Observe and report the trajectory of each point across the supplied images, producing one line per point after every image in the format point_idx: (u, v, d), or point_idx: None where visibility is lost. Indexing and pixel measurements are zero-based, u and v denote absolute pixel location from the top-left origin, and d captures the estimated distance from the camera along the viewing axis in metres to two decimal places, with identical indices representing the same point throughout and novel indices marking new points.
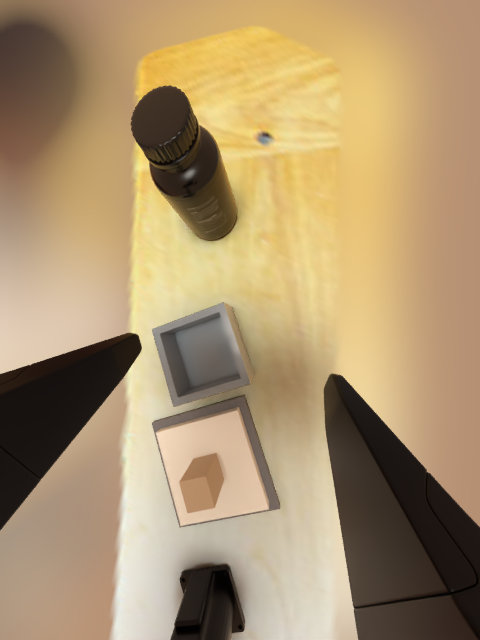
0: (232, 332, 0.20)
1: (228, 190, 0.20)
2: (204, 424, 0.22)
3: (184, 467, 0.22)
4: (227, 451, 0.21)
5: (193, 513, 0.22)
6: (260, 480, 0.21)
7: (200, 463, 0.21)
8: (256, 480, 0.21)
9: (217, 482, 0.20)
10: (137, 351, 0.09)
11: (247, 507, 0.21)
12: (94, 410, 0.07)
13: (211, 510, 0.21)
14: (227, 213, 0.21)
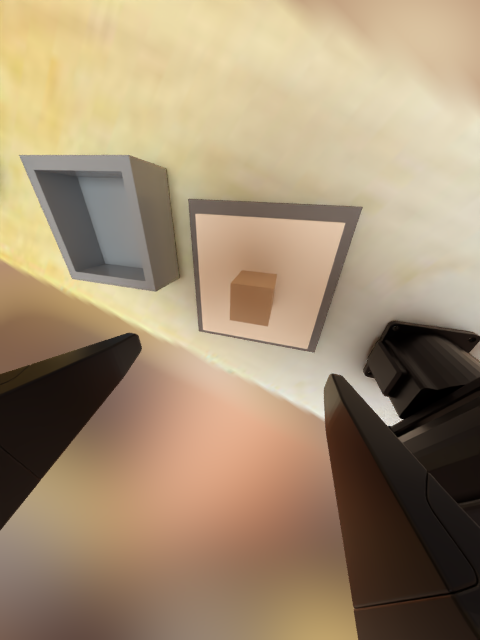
0: (57, 157, 0.12)
1: None
2: (204, 270, 0.17)
3: None
4: (244, 253, 0.15)
5: (300, 329, 0.17)
6: (302, 220, 0.13)
7: None
8: (296, 225, 0.13)
9: (263, 278, 0.14)
10: (137, 351, 0.09)
11: (326, 257, 0.14)
12: (94, 410, 0.08)
13: (307, 308, 0.16)
14: None
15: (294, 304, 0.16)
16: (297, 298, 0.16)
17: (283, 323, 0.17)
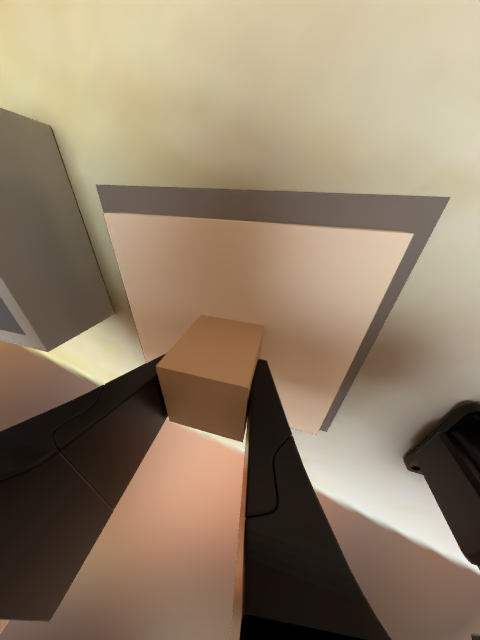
0: None
1: None
2: (140, 311, 0.10)
3: None
4: (202, 287, 0.08)
5: (306, 409, 0.10)
6: (313, 226, 0.06)
7: None
8: (301, 237, 0.06)
9: (233, 343, 0.07)
10: None
11: (362, 302, 0.07)
12: (158, 429, 0.07)
13: (319, 381, 0.09)
14: None
15: (296, 373, 0.09)
16: (301, 365, 0.09)
17: None
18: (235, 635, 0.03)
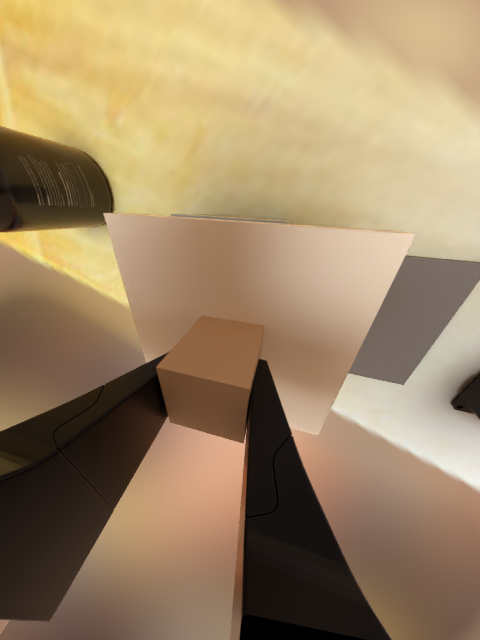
0: (211, 218, 0.14)
1: (24, 135, 0.14)
2: (140, 312, 0.10)
3: None
4: (203, 288, 0.08)
5: (307, 410, 0.10)
6: (314, 226, 0.06)
7: None
8: (302, 238, 0.06)
9: (234, 344, 0.07)
10: None
11: (363, 303, 0.07)
12: (158, 430, 0.07)
13: (320, 382, 0.09)
14: (65, 157, 0.15)
15: (296, 374, 0.09)
16: (302, 366, 0.09)
17: None
18: (235, 635, 0.03)
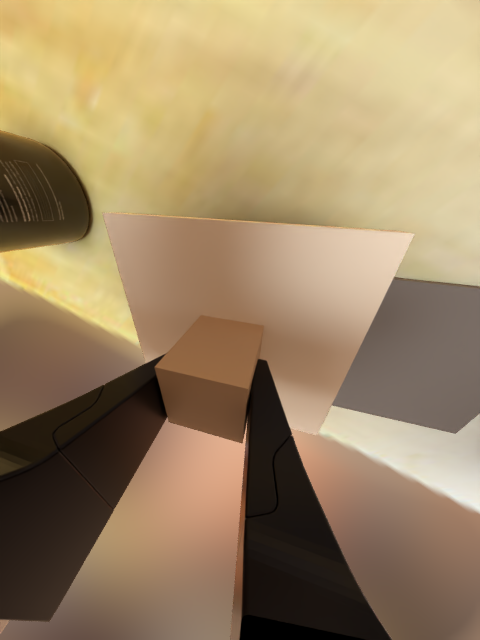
0: None
1: None
2: (139, 311, 0.10)
3: None
4: (202, 288, 0.08)
5: (306, 409, 0.10)
6: (313, 226, 0.06)
7: None
8: (301, 237, 0.06)
9: (233, 344, 0.07)
10: None
11: (362, 302, 0.07)
12: (158, 429, 0.07)
13: (319, 381, 0.09)
14: (16, 153, 0.11)
15: (296, 373, 0.09)
16: (301, 366, 0.09)
17: None
18: (235, 635, 0.03)
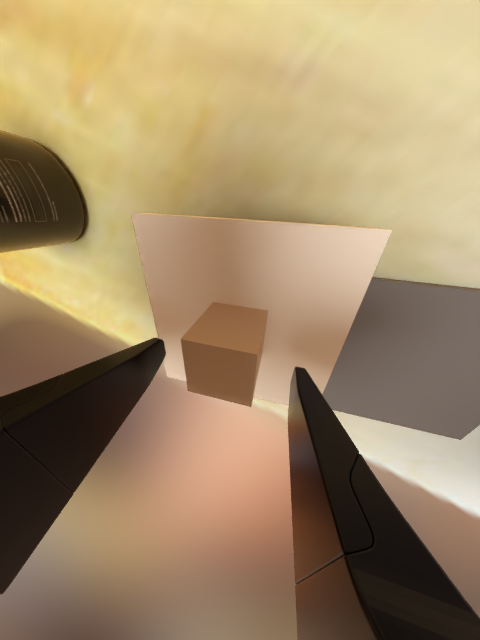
0: None
1: None
2: (158, 300, 0.11)
3: None
4: (215, 277, 0.09)
5: None
6: (310, 224, 0.07)
7: None
8: (300, 233, 0.07)
9: (243, 323, 0.08)
10: (162, 356, 0.09)
11: (351, 288, 0.08)
12: (123, 419, 0.07)
13: (316, 361, 0.10)
14: (7, 151, 0.10)
15: (296, 354, 0.10)
16: (300, 346, 0.10)
17: (279, 377, 0.12)
18: None
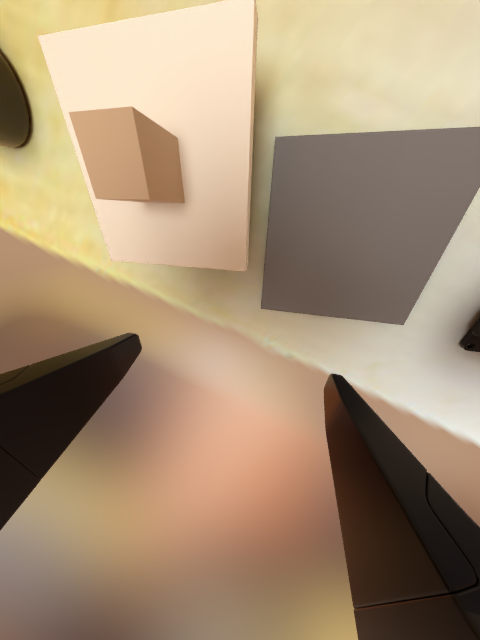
0: None
1: None
2: None
3: (157, 227, 0.13)
4: (124, 105, 0.10)
5: (230, 238, 0.12)
6: None
7: None
8: (182, 22, 0.08)
9: None
10: (137, 351, 0.09)
11: (239, 85, 0.09)
12: (94, 410, 0.07)
13: (231, 196, 0.11)
14: None
15: (212, 192, 0.11)
16: (214, 180, 0.11)
17: (205, 231, 0.12)
18: None
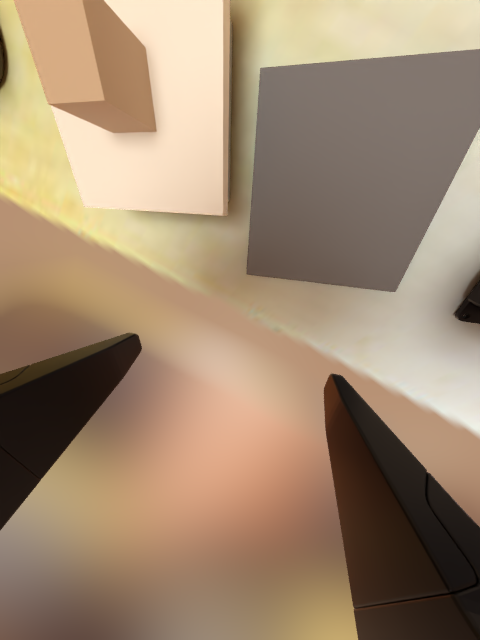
0: None
1: None
2: None
3: (129, 164, 0.12)
4: None
5: (206, 175, 0.11)
6: None
7: None
8: None
9: None
10: (137, 351, 0.09)
11: None
12: (94, 410, 0.07)
13: (206, 121, 0.10)
14: None
15: (185, 117, 0.10)
16: (187, 101, 0.10)
17: (180, 166, 0.11)
18: None
